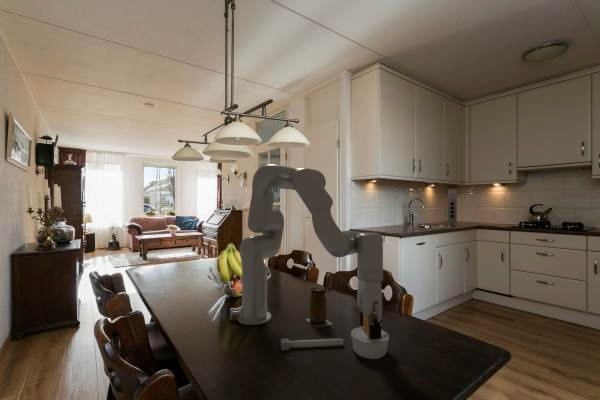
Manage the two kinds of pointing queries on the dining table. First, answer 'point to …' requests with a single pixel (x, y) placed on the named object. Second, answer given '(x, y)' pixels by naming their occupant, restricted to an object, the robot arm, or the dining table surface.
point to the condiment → (318, 308)
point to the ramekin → (369, 344)
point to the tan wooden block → (367, 324)
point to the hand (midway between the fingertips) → (370, 331)
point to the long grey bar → (310, 343)
